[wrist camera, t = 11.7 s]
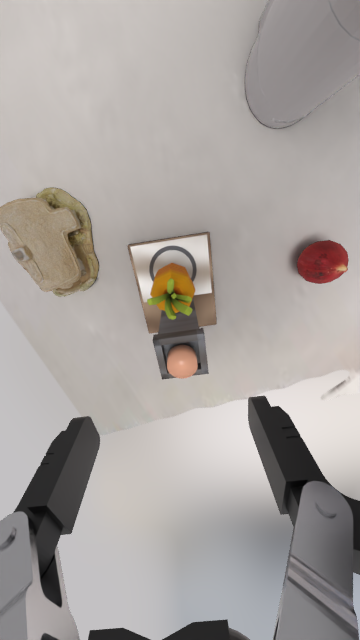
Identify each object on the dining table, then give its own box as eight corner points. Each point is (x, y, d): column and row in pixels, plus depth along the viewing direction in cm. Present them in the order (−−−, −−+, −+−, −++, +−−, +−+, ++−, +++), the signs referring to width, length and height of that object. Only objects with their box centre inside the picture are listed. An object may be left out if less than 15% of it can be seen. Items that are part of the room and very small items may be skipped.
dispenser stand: (129, 244, 31) (100, 263, 19) (208, 231, 31) (228, 243, 19) (149, 330, 38) (138, 383, 26) (215, 321, 38) (233, 370, 26)
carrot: (150, 272, 32) (132, 313, 18) (171, 246, 30) (168, 270, 17) (175, 292, 33) (175, 343, 20) (196, 268, 32) (212, 306, 18)
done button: (165, 346, 24) (164, 356, 22) (194, 342, 24) (195, 352, 22) (170, 369, 26) (169, 379, 24) (197, 366, 25) (199, 376, 24)
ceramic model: (1, 205, 29) (-77, 201, 20) (74, 179, 28) (26, 163, 19) (55, 296, 35) (13, 325, 26) (116, 279, 34) (95, 302, 25)
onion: (293, 282, 35) (323, 299, 27) (283, 250, 32) (314, 260, 25) (328, 264, 33) (370, 278, 26) (321, 230, 31) (365, 235, 24)
